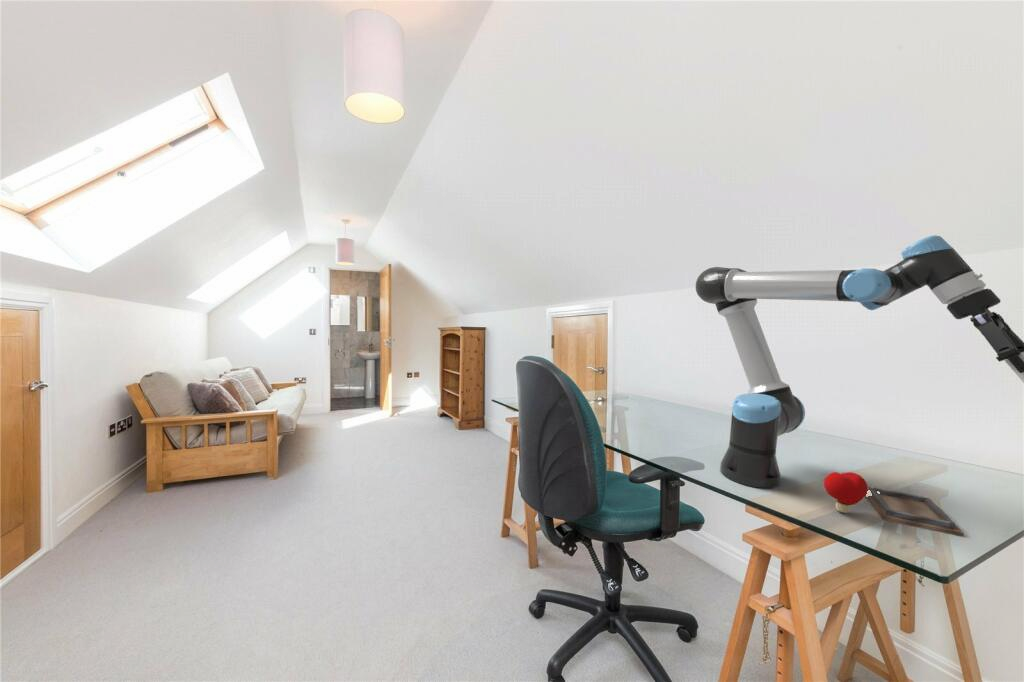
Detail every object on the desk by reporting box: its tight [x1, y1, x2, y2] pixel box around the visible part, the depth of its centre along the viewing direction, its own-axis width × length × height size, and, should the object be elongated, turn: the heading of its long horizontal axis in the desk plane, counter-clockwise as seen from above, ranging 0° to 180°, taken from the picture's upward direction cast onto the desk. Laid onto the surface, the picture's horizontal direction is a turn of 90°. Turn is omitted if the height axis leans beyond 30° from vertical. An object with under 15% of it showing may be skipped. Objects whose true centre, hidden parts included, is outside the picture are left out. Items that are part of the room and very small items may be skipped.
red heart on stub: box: [823, 471, 869, 515], centre depth 99 cm, size 9×7×10 cm
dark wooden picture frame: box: [866, 486, 965, 537], centre depth 101 cm, size 14×16×2 cm
